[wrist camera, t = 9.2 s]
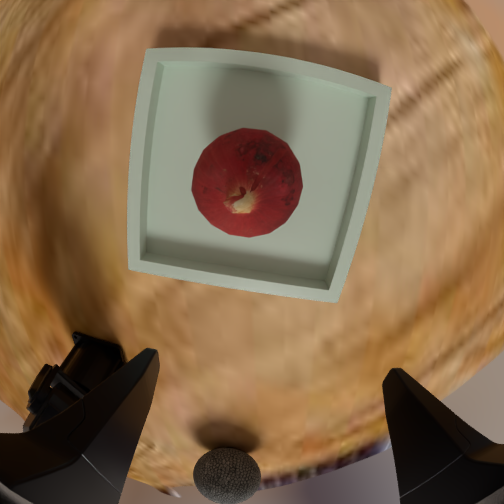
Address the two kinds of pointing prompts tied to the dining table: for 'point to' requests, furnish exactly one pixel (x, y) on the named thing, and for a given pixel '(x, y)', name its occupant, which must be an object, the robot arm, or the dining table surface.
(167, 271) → the tray
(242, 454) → the decorative ball
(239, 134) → the onion
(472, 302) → the dining table surface
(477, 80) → the dining table surface
